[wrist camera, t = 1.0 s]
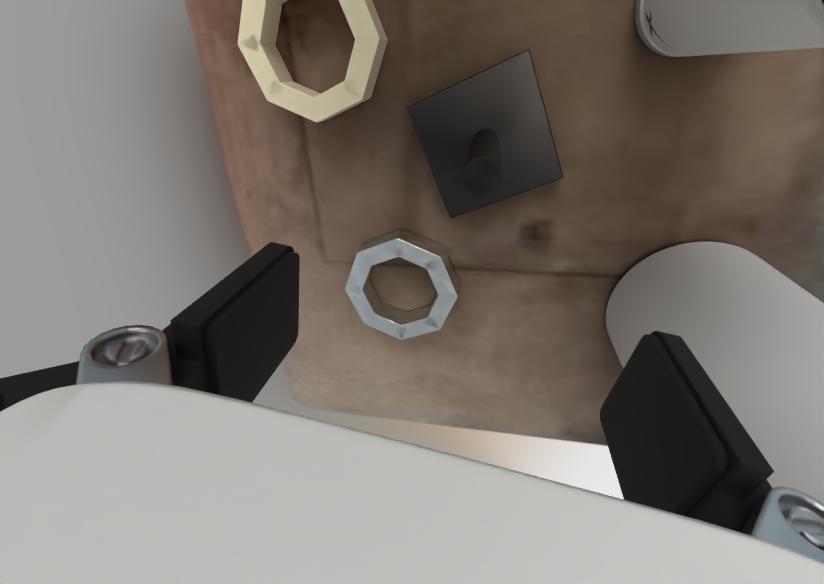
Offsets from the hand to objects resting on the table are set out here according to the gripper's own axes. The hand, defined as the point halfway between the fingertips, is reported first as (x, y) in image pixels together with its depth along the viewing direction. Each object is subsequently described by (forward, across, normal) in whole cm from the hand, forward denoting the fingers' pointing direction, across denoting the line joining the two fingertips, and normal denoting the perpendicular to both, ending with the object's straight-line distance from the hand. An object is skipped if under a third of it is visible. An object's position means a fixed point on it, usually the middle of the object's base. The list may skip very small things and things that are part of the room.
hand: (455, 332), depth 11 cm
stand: (+24, 0, -1) cm, 24 cm away
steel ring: (+24, +4, +12) cm, 27 cm away
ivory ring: (+24, +14, -6) cm, 28 cm away
